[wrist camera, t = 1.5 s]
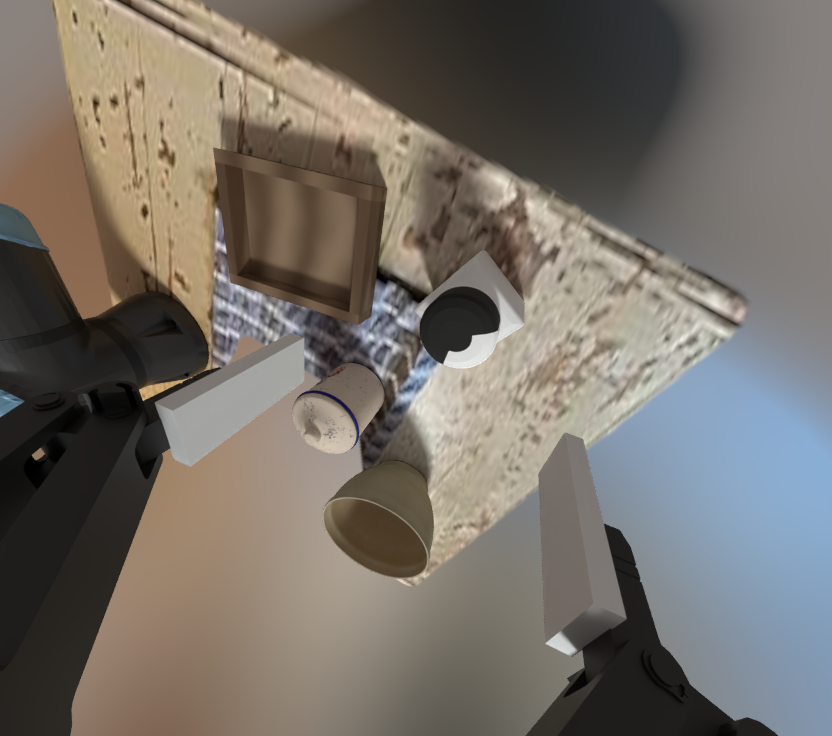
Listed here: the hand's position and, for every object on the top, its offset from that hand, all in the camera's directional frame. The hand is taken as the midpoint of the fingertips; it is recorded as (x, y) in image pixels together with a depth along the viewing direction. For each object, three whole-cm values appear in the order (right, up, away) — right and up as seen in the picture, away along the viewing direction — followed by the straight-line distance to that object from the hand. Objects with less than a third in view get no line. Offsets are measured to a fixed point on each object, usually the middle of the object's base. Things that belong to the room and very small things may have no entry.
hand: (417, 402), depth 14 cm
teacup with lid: (-9, -2, +30) cm, 31 cm away
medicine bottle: (+7, +9, +18) cm, 21 cm away
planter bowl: (-3, -17, +35) cm, 39 cm away
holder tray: (-13, +17, +21) cm, 30 cm away
